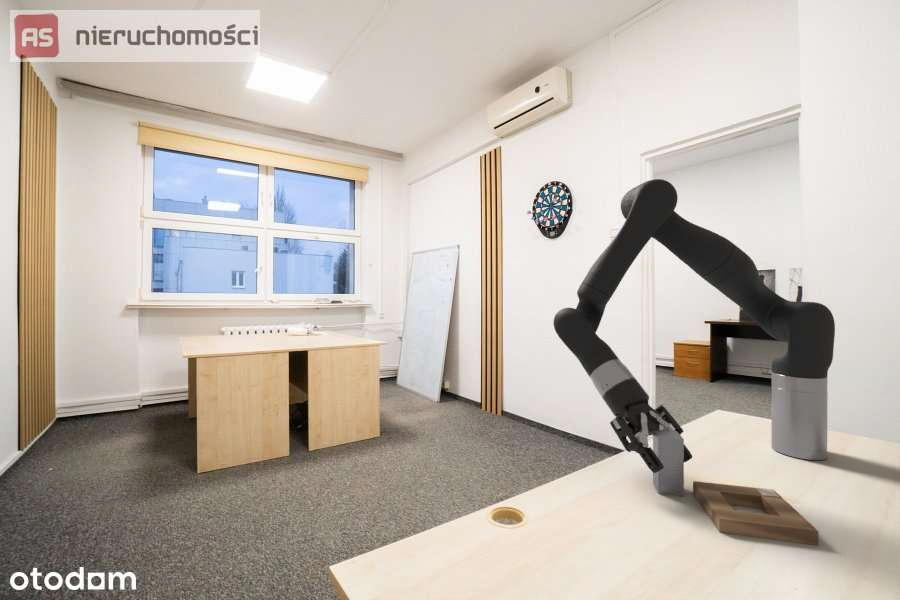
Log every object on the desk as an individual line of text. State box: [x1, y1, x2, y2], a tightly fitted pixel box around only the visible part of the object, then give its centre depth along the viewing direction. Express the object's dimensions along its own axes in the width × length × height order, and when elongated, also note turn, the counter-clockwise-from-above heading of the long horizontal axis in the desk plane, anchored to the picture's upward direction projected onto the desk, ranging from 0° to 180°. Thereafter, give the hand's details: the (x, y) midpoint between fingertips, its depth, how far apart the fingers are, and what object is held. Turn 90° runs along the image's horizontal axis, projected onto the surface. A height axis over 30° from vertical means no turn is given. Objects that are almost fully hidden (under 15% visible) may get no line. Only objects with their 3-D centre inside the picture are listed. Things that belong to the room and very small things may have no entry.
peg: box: [652, 430, 685, 497], centre depth 71 cm, size 4×4×10 cm
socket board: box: [692, 480, 819, 546], centre depth 62 cm, size 12×12×2 cm
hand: (674, 465), depth 70 cm, fingers open, 8 cm apart
